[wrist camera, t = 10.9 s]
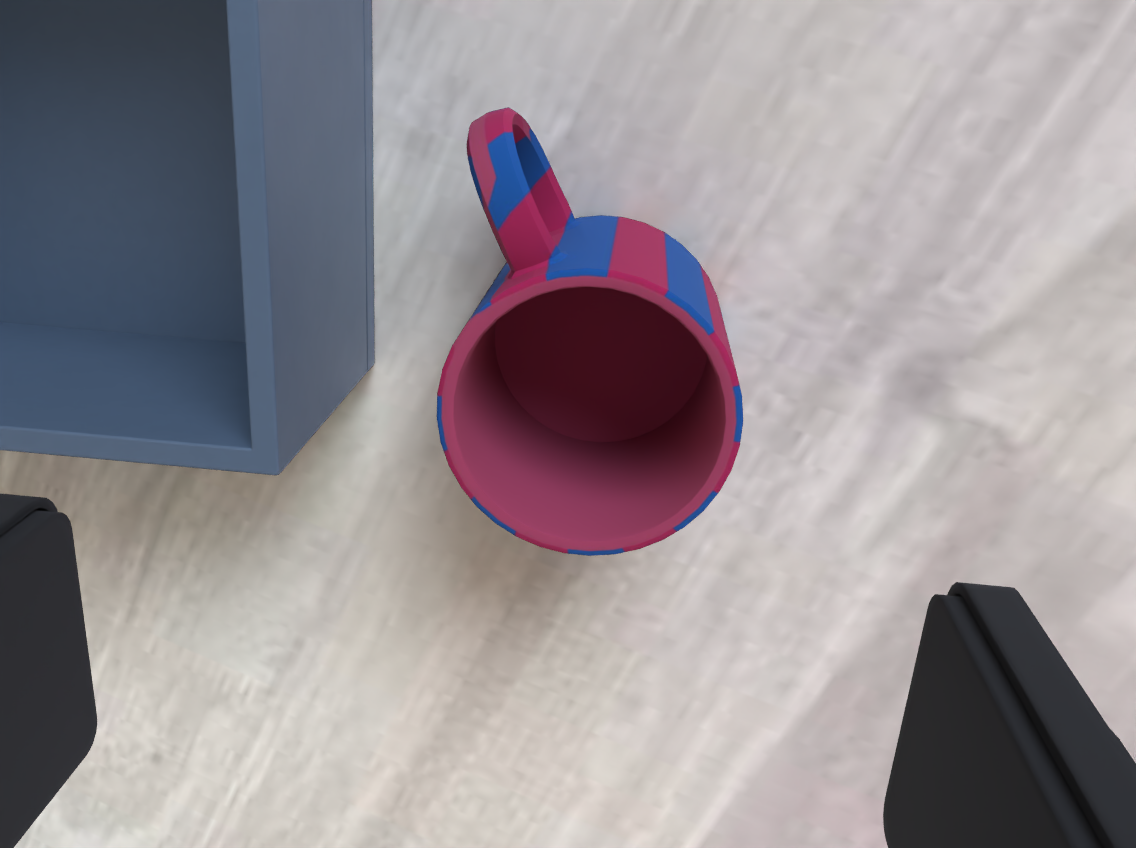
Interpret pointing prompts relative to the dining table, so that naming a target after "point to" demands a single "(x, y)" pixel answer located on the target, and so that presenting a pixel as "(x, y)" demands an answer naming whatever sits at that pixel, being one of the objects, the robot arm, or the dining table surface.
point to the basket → (183, 226)
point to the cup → (584, 368)
